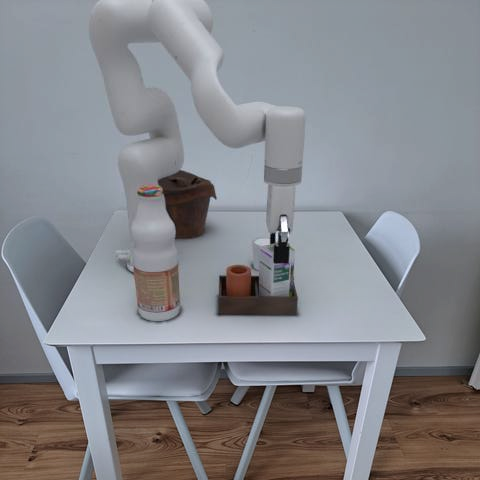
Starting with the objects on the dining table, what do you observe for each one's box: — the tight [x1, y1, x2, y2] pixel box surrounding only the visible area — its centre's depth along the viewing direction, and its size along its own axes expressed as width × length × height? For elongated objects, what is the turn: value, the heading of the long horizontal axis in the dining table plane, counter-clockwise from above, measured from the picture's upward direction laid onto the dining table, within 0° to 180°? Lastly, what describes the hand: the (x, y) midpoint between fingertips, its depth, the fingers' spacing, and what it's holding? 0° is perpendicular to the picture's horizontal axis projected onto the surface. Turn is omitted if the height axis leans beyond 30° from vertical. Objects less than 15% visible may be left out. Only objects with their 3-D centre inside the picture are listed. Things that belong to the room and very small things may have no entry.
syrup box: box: [258, 244, 296, 297], centre depth 110 cm, size 6×6×14 cm
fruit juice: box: [131, 185, 181, 322], centre depth 104 cm, size 9×9×28 cm
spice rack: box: [218, 274, 299, 316], centre depth 113 cm, size 17×9×6 cm, turn 91°
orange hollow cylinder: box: [225, 264, 252, 296], centre depth 112 cm, size 6×6×9 cm
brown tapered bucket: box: [158, 169, 218, 239], centre depth 148 cm, size 18×20×18 cm
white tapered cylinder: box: [251, 237, 270, 271], centre depth 130 cm, size 7×7×7 cm
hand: (278, 253), depth 107 cm, fingers open, 9 cm apart
